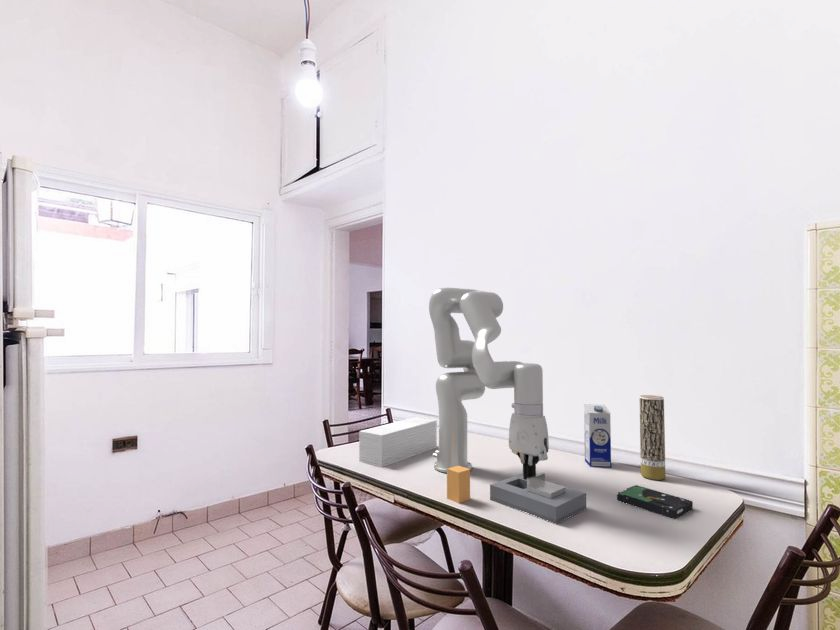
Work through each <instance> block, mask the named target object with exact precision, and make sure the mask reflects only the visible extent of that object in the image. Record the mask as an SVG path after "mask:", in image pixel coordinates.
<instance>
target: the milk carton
mask: <svg viewBox="0 0 840 630" xmlns="http://www.w3.org/2000/svg"><path fill="white" fill-rule="evenodd" d="M583 407H584V409H583V411H584V412H583V413H584V414H583V415H584V425H583V427H584V462H585V463H586V464H587V465H588V466H589V467H590V468H591V467H592V468H612V446H611V444H612V442H611V440H612V439H611V438H612V436H611V435H612V434H611V427H612V426H611V412H610V410H609V409H608V407H607V406H606V405H605V404H591V403H590V404H586V403H585V404H583Z"/></svg>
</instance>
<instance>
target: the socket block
mask: <svg viewBox="0 0 840 630" xmlns="http://www.w3.org/2000/svg"><path fill="white" fill-rule="evenodd" d="M546 481H547V480H546ZM547 482H550V483H552V481H547ZM556 484H557V483H556ZM557 485H559V484H557ZM565 487H566V492H564V493H562V494H560V495H558V496H555V497H553V498H548V497H545V496H542V495H538V494H535V493H532V492H529V491H527V480H525V479H523V473H520V474H517V475H514V476H511V477H509V478H506V479H502V480H500V481H496V482H494V483H491V484H489V496H490V497H489V500H490V501H493V502H495V503H498V504H500V505H503V506H507V507H508V506H510V507H509V508H511V507H513V508H512V509H514V508H516V509H518V510H517V511H519V510H521V511H520V512H522V511H524V512H527V513H529V514H528V515H530V514H532V515H535V516H537V517H536V518H538V517H540V518H542V519H541V520H543V519H545V520H544V521H546V520H548V521H547V522H549V521H551V522H553V523H552V524H554V523H558V522H560V521H562V520H564V519H566V518H567V519H569V518H571V517H573V516H575V515H577V514H579V513H581V512H583V511H585V510H587V492H585V491H582V490H581V491H580V490H578V489H574V488H570V487H567V486H565ZM516 509H515V510H516ZM584 509H585V510H584ZM582 510H583V511H582ZM580 511H581V512H580ZM524 512H523V513H524ZM578 512H579V513H578ZM527 513H526V514H527ZM574 514H575V515H574ZM532 515H531V516H532ZM572 515H573V516H572ZM535 516H534V517H535ZM570 516H571V517H570ZM568 517H569V518H568ZM540 518H539V519H540ZM567 519H566V520H567ZM564 521H565V520H564ZM551 522H550V523H551ZM562 522H563V521H562ZM560 523H561V522H560ZM558 524H559V523H558Z"/></svg>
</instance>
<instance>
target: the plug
mask: <svg viewBox="0 0 840 630" xmlns="http://www.w3.org/2000/svg"><path fill="white" fill-rule="evenodd" d="M446 499H447V500H450V501H452V502H453V503H456V504H461V503H464V502H466V501H469V500H471V470H470V469H468V468H464V467H461V466H455V467H451V468H448V469H447V473H446Z"/></svg>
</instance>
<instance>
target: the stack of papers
mask: <svg viewBox="0 0 840 630" xmlns="http://www.w3.org/2000/svg"><path fill="white" fill-rule="evenodd" d="M437 421H438V420H437V419H432V418H431V419H430V418H423V417H416V416H414V417H410V418H406V419H401V420H398V421H395V422H391V423H387V424H386V423H385V424H382V425H379V426H374V427H371V428H367V429H362V430H359V432H358V433H359V434H358V440H359V441H358V444H359V445H358V451H359V452H358V454H359V456H358V458H359V459H358V461H359V462H361V463H364V464H368V465H372V466H376V467H380V468H384V467H386V466H388V465H392V464H395V463H397V462H399V461H402V460H405V459H408V458H410V457H413V456H417V455H419V454H421V453H425V452H428V451H430V450H433V449H436V448H437V447H438V446H437V445H438V444H437V440H438V439H437V437H438V436H437V435H438V434H437V432H438V431H437V430H438V429H437V428H438V426H437V424H438V422H437ZM391 463H392V464H391Z"/></svg>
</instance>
